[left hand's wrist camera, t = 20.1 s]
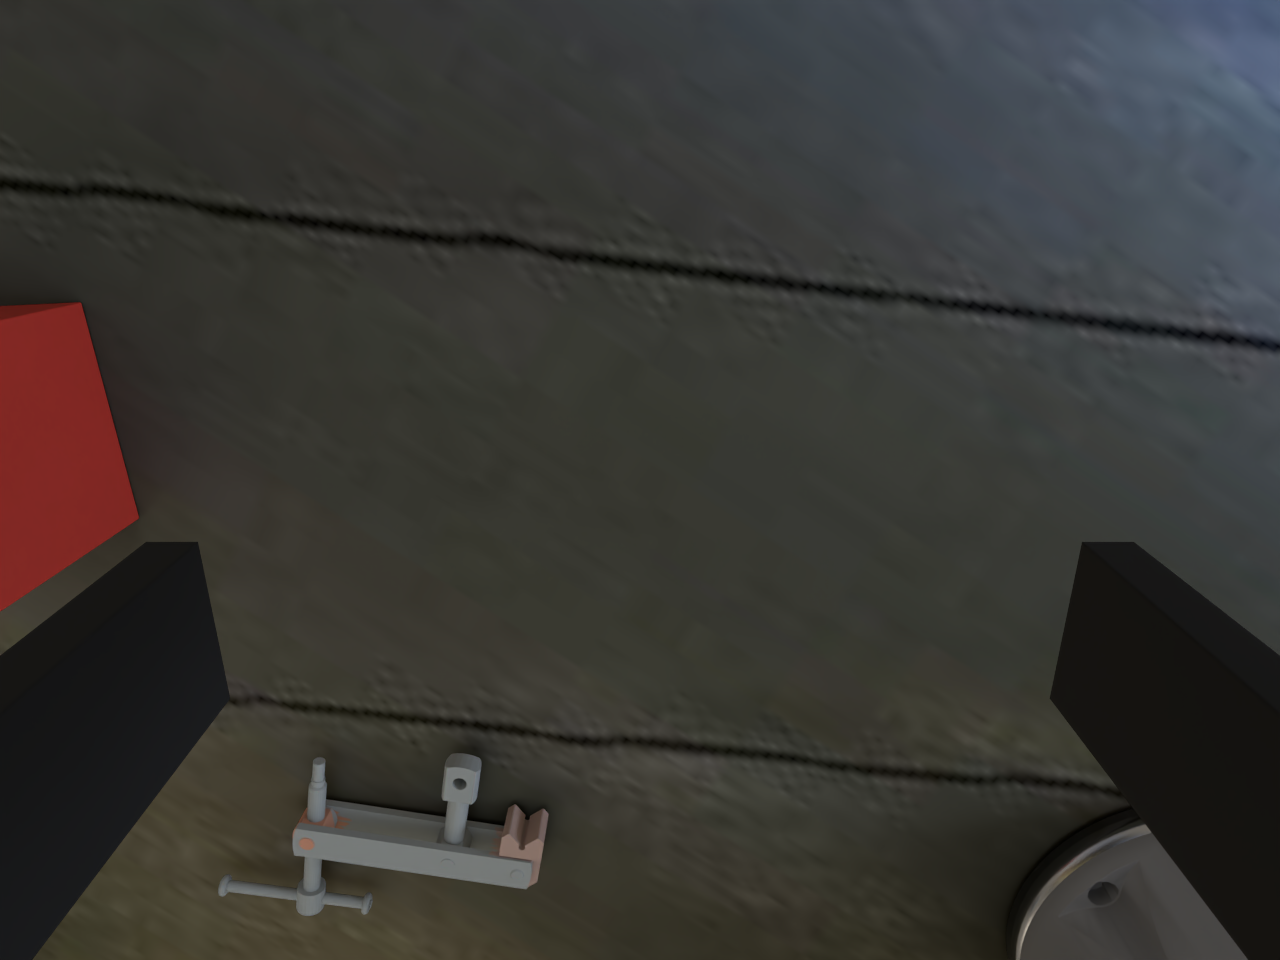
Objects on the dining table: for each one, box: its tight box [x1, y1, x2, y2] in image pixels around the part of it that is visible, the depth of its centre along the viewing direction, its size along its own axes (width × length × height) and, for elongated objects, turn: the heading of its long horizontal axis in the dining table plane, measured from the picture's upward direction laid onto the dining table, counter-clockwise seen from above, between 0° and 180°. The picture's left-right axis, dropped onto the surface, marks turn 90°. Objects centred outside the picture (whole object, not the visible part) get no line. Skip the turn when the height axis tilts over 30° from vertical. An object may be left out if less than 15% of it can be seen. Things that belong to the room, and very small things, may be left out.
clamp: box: [218, 753, 549, 916], centre depth 40 cm, size 15×2×10 cm
